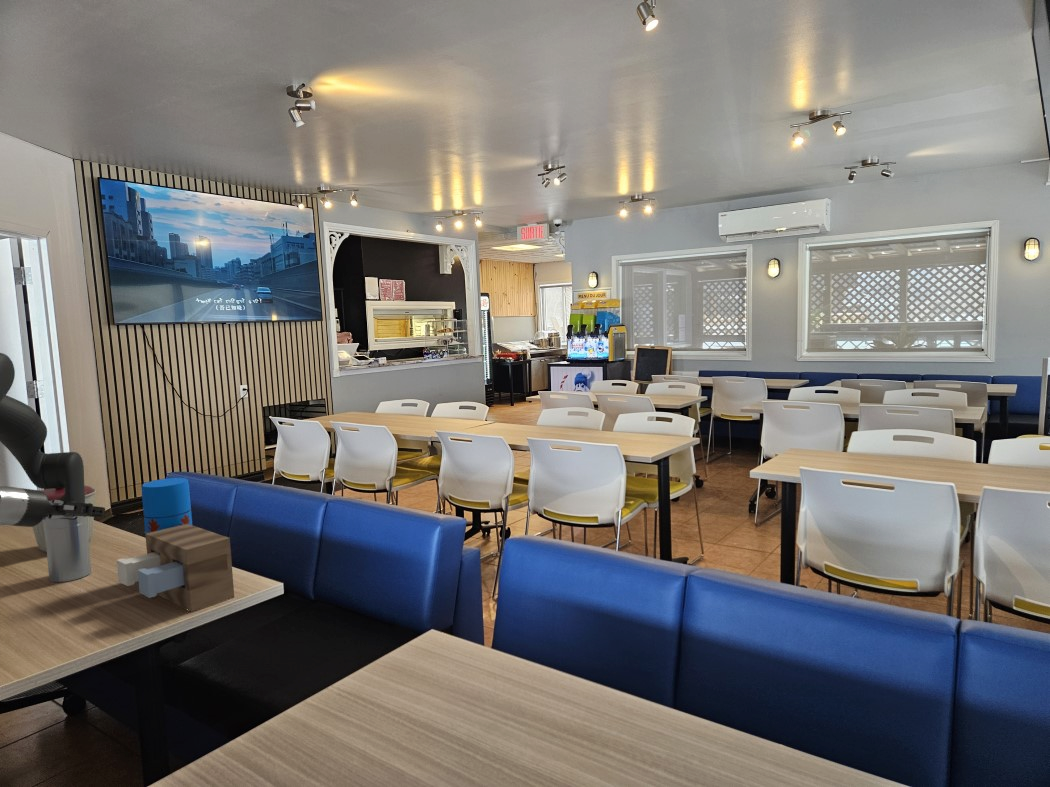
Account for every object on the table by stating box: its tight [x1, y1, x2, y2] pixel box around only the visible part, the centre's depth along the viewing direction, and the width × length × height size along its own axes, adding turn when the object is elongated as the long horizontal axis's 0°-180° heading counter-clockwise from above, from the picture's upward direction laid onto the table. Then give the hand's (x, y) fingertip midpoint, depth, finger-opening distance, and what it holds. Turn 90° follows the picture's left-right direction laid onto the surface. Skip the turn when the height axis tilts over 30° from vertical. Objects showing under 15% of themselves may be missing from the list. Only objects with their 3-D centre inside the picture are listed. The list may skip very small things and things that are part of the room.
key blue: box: [137, 561, 185, 599], centre depth 148 cm, size 5×12×5 cm, turn 141°
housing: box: [144, 524, 235, 613], centre depth 157 cm, size 22×10×14 cm, turn 51°
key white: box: [116, 552, 161, 587], centre depth 155 cm, size 5×12×5 cm, turn 141°
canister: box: [32, 485, 97, 553], centre depth 198 cm, size 18×18×21 cm
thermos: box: [141, 477, 193, 534], centre depth 169 cm, size 11×11×25 cm
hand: (90, 513), depth 145 cm, fingers open, 8 cm apart
